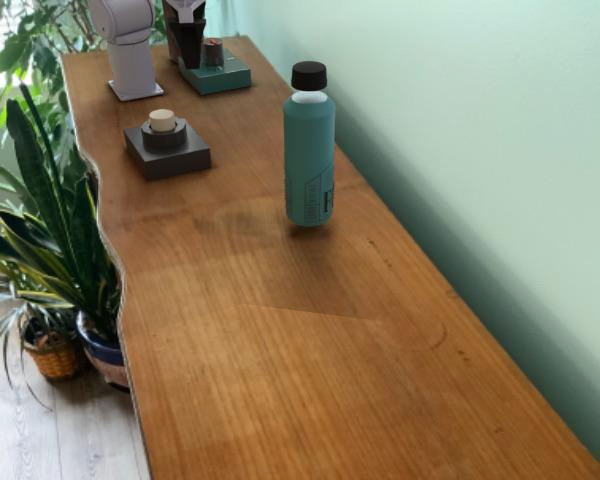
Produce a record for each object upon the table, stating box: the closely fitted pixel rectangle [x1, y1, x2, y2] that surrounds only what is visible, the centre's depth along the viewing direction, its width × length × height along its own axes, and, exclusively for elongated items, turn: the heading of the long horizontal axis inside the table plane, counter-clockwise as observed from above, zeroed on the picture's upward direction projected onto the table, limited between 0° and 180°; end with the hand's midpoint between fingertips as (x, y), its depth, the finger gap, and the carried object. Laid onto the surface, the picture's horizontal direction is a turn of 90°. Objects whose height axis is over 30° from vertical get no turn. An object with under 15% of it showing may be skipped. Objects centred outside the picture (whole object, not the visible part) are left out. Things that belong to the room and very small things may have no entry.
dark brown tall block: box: [161, 0, 205, 65], centre depth 120 cm, size 8×7×20 cm
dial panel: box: [178, 48, 252, 96], centre depth 118 cm, size 12×10×3 cm
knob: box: [201, 37, 224, 66], centre depth 116 cm, size 4×4×4 cm
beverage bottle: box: [282, 60, 337, 227], centre depth 77 cm, size 6×7×20 cm
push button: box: [148, 108, 176, 132], centre depth 93 cm, size 4×4×2 cm
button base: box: [122, 116, 213, 182], centre depth 96 cm, size 12×10×5 cm
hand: (193, 59), depth 101 cm, fingers open, 7 cm apart
